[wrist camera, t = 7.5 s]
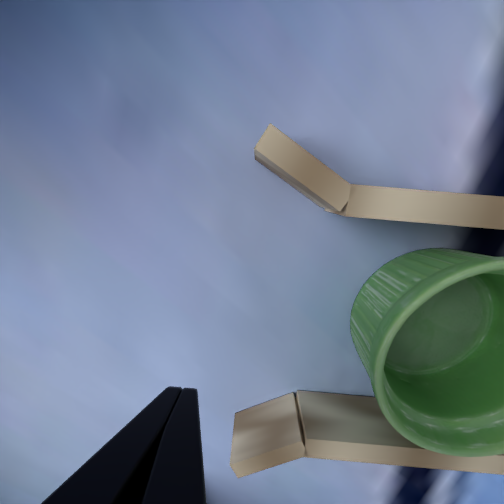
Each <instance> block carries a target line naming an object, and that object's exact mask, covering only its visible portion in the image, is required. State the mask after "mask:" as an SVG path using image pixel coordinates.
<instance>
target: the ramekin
mask: <svg viewBox="0 0 504 504" xmlns="http://www.w3.org/2000/svg"><path fill="white" fill-rule="evenodd" d="M350 329H351V335H352V339H353V342H354V345H355V348H356V350H357V352H358V354H359V357H360V359H361V361H362V363H363V365H364V367H365V369H366V371H367V373H368V375H369V377H370V379H371V384H372V388H373V392H374V394H375V397H376V400H377V402H378V404H379V407H380V409H381V411H382V413H383V414H384V416H385V417H386V419H387V420H388V422H389V423H390V424H391V425H392V426H393V427H394V429H395V430H397V431H398V432H399V433H400V434H401V435H402V436H403V437H405V438H406V439H408V440H409V441H411V442H412V443H414V444H416V445H418V446H420V447H422V448H425V449H427V450H430V451H433V452H437V453H441V454H445V455H451V456H460V457H483V456H493V455H499V454H504V257H493V256H487V255H482V254H476V253H471V252H466V251H461V250H454V249H445V248H430V249H423V250H416V251H413V252H410V253H406V254H404V255H402V256H399V257H397V258H395V259H393V260H391V261H389V262H388V263H386V264H385V265H383V266H382V267H381V268H379V269H378V270H377V271H376V272H375V273H374V274H373V275H372V276H371V277H370V278H369V279H368V280H367V281H366V282H365V284H364V285H363V287H362V288H361V290H360V291H359V293H358V295H357V297H356V299H355V301H354V304H353V307H352V311H351V319H350Z"/></svg>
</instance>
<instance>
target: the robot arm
mask: <svg viewBox="0 0 504 504" xmlns="http://www.w3.org/2000/svg"><path fill="white" fill-rule="evenodd" d="M41 504H206V494H205V481H204V468H203V455H202V443H201V430H200V417H199V405H198V392H197V389H194V388H184V389H182V388H181V387H171V386H170V387H167V388H166V389H165V390H164V391H163V392H162V393H161V394H159V395H158V396H157V397H156V398H155V399H154V400H153V401H152V402H151V403H150V404H149V405H147V406H146V407H145V408H144V409H143V410H142V411H141V412H140V413H139V414H138V415H137V416H136V417H134V418H133V419H132V420H131V421H130V422H129V423H128V424H127V425H126V426H125V427H124V428H123V429H121V430H120V431H119V432H118V433H117V434H116V435H115V436H114V437H113V438H112V439H111V440H109V441H108V442H107V443H106V444H105V445H104V446H103V447H102V448H101V449H100V450H99V451H98V452H96V453H95V454H94V455H93V456H92V457H91V458H90V459H89V460H88V461H87V462H86V463H85V464H83V465H82V466H81V467H80V468H79V469H78V470H77V471H76V472H75V473H74V474H73V475H72V476H70V477H69V478H68V479H67V480H66V481H65V482H64V483H63V484H62V485H61V486H60V487H58V488H57V489H56V490H55V491H54V492H53V493H52V494H51V495H50V496H49V497H48V498H47V499H45V500H44V501H43V502H42V503H41Z"/></svg>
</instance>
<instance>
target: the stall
mask: <svg viewBox="0 0 504 504" xmlns="http://www.w3.org/2000/svg"><path fill="white" fill-rule="evenodd" d="M254 153H255V160H257V161H258V162H259V163H261V164H262V165H264V166H265V167H266V168H268V169H269V170H270V171H272V172H273V173H275V174H276V175H277V176H279V177H280V178H281V179H283V180H284V181H285V182H287V183H288V184H290V185H291V186H292V187H294V188H295V189H296V190H298V191H299V192H300V193H302V194H303V195H305V196H306V197H307V198H309V199H310V200H311V201H313V202H314V203H315V204H317V205H318V206H320V207H323V208H325V211H327V212H331V213H335V214H338V215H342V216H346V217H358V218H370V219H382V220H394V221H406V222H418V223H430V224H442V225H454V226H466V227H478V228H490V229H501V230H504V197H500V196H488V195H475V194H463V193H451V192H439V191H427V190H415V189H403V188H391V187H379V186H367V185H355V184H349V183H348V182H347V181H345V180H344V179H343V178H342V177H340V176H339V175H338V174H336V173H335V172H334V171H332V170H331V169H330V168H328V167H327V166H326V165H324V164H323V163H322V162H320V161H319V160H318V159H317V158H315V157H314V156H313V155H311V154H310V153H309V152H307V151H306V150H305V149H303V148H302V147H301V146H299V145H298V144H297V143H296V142H294V141H293V140H292V139H290V138H289V137H288V136H286V135H285V134H284V133H282V132H281V131H280V130H278V129H277V128H276V127H275V126H273V125H272V124H271V123H270V124H269V126H268V127H267V129H266V130H265V132H264V134H263V135H262V137H261V138H260V140H259V141H258V143H257V144H256V146H255V148H254ZM301 457H308V458H319V459H330V460H342V461H353V462H365V463H376V464H387V465H399V466H410V467H421V468H433V469H444V470H456V471H467V472H478V473H490V474H501V475H504V454H499V455H493V456H483V457H460V456H451V455H445V454H441V453H437V452H433V451H430V450H427V449H425V448H422V447H420V446H418V445H416V444H414V443H412V442H411V441H409V440H408V439H406V438H405V437H403V436H402V435H401V434H400V433H399V432H398V431H397V430H395V429H394V427H393V426H392V425H391V424H390V423H389V422H388V420H387V419H386V417H385V416H384V414H383V413H382V411H381V409H380V407H379V404H378V402H377V400H376V397H368V396H357V395H345V394H334V393H322V392H311V391H299V390H297V395H296V397H295V395H294V394H293V392H292V393H289V394H287V395H284V396H281V397H278V398H276V399H273V400H270V401H267V402H265V403H262V404H259V405H256V406H254V407H251V408H248V409H245V410H243V411H240V412H237V413H235V419H234V428H233V438H232V447H231V457H230V466H231V468H232V469H233V471H234V473H235V474H236V476H237V477H238V478H240V477H243V476H246V475H249V474H252V473H256V472H259V471H262V470H265V469H268V468H271V467H274V466H277V465H280V464H283V463H286V462H289V461H292V460H295V459H298V458H301Z"/></svg>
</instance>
